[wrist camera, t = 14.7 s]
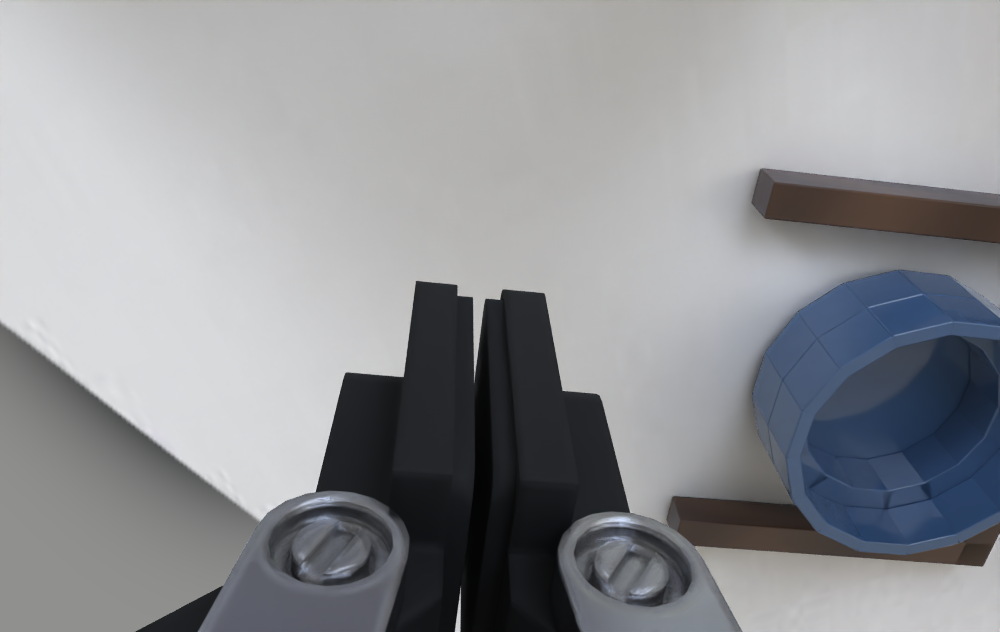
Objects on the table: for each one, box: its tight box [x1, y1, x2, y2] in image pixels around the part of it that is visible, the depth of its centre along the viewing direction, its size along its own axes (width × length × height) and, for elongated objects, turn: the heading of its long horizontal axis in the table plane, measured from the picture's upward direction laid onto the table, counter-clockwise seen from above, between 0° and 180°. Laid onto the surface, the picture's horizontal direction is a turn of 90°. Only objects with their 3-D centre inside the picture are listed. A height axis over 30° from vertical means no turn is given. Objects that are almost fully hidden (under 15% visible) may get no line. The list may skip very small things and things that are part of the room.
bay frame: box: [667, 168, 1000, 566], centre depth 38 cm, size 16×18×2 cm
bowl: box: [752, 270, 1000, 555], centre depth 37 cm, size 11×11×5 cm
